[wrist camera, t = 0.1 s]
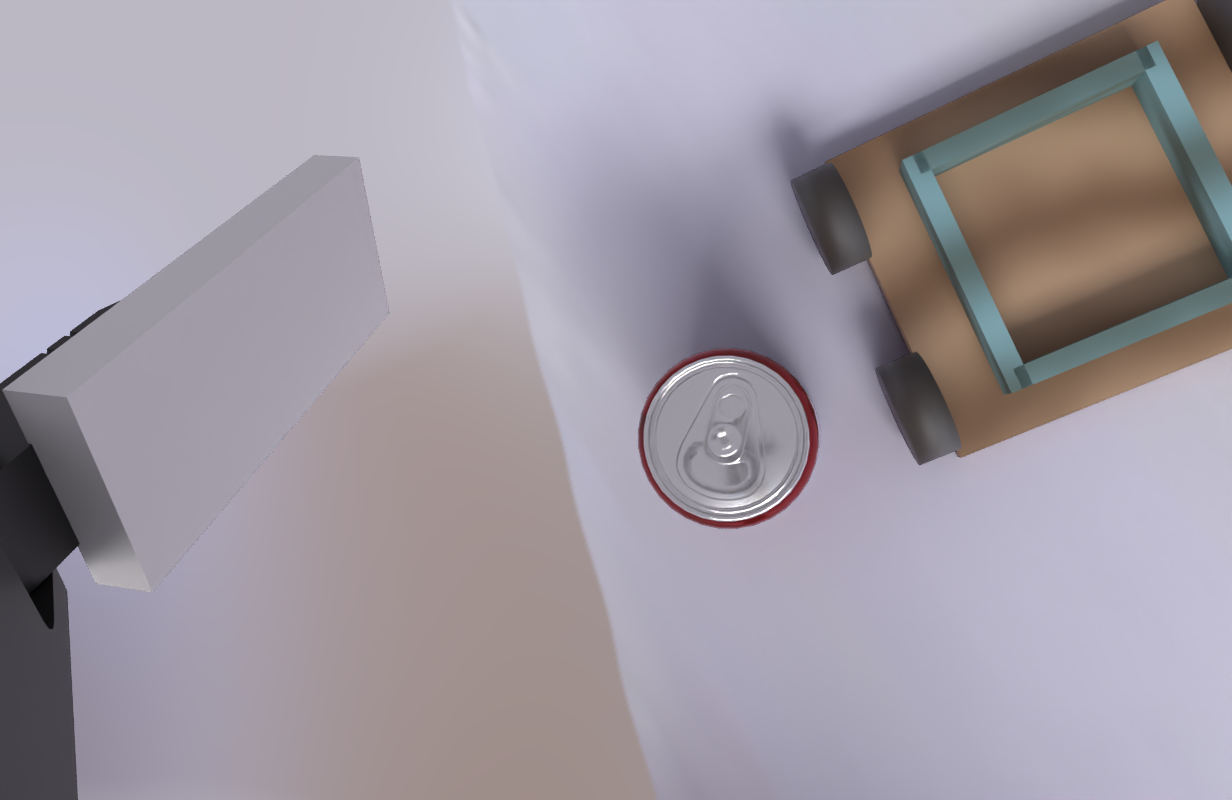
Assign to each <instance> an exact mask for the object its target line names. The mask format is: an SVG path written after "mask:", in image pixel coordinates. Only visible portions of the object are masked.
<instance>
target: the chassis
mask: <svg viewBox="0 0 1232 800" xmlns="http://www.w3.org/2000/svg"><path fill="white" fill-rule="evenodd" d="M791 185H792V188H793V191H794V194H795V197H796V200H797V202H798V205H799V207H800V210H801V212H802V215H803V217H804V220H805V222H806V224H807V227H808V229H809V231H810V233H811V236H812V238H813V240H814V242H815V244H816V247H817V249H818V251H819V253H820V255H821V257H822V259H823V261H824V263H825V265H826V266H827V268H828V270H829V272H830V273H831V274H832V275H834V274H836V273H838V272H840V271H843V270H845V269H847V268H849V267H851V266H854V265H856V264H858V263H860V262H863V261H865V260H867V261H868V263H869V265H870V267H871V269H872V271H873V274H874V276H875V278H876V280H877V282H878V284H879V287H880V289H881V291H882V293H883V295H884V298H885V300H886V302H887V304H888V306H889V308H890V311H891V313H892V315H893V317H894V319H895V321H896V324H897V326H898V328H899V330H900V332H901V335H902V337H903V339H904V341H905V343H906V345H907V348H908V350H909V352H910V354H909V355H906V356H904V357H902V358H899V359H897V360H895V361H892V362H890V363H888V364H885V365H883V366H881V367H878V368H876V369H875V370H876V374H877V377H878V380H879V383H880V386H881V388H882V391H883V393H884V396H885V398H886V400H887V403H888V405H889V407H890V410H891V412H892V414H893V416H894V419H895V421H896V423H897V425H898V427H899V429H900V431H901V433H902V436H903V438H904V440H905V442H906V444H907V446H908V447H909V449H910V451H911V453H912V455H913V457H914V458H915V460H916V462H917V463H918V464H919V465H921V464H924V463H926V462H929V461H931V460H934V459H936V458H939V457H941V456H944V455H946V454H949V453H951V452H954V451H955V452H956V454H957V456H958V457H964V456H966V455H969V454H971V453H974V452H976V451H979V450H981V449H984V448H986V447H989V446H991V445H994V444H996V443H999V442H1001V441H1004V440H1006V439H1008V438H1011V437H1013V436H1016V435H1018V434H1021V433H1023V432H1026V431H1028V430H1031V429H1033V428H1036V427H1038V426H1041V425H1043V424H1046V423H1048V422H1051V421H1053V420H1056V419H1058V418H1061V417H1063V416H1066V415H1068V414H1071V413H1073V412H1076V411H1078V410H1081V409H1083V408H1085V407H1088V406H1090V405H1093V404H1095V403H1098V402H1100V401H1103V400H1105V399H1108V398H1110V397H1113V396H1115V395H1118V394H1120V393H1123V392H1125V391H1128V390H1130V389H1133V388H1135V387H1138V386H1140V385H1143V384H1145V383H1148V382H1150V381H1153V380H1155V379H1158V378H1160V377H1162V376H1165V375H1167V374H1170V373H1172V372H1175V371H1177V370H1180V369H1182V368H1185V367H1187V366H1190V365H1192V364H1195V363H1197V362H1200V361H1202V360H1205V359H1207V358H1210V357H1212V356H1215V355H1217V354H1220V353H1222V352H1225V351H1227V350H1230V349H1232V0H1198V3H1197V4H1196V2H1195V1H1194V0H1165V1H1163V2H1161V3H1159V4H1157V5H1154V6H1152V7H1150V8H1148V9H1146V10H1144V11H1142V12H1140V13H1138V14H1136V15H1133V16H1131V17H1129V18H1127V19H1125V20H1123V21H1121V22H1119V23H1117V24H1114V25H1112V26H1110V27H1108V28H1106V29H1104V30H1102V31H1100V32H1098V33H1096V34H1093V35H1091V36H1089V37H1087V38H1085V39H1083V40H1081V41H1079V42H1077V43H1075V44H1072V45H1070V46H1068V47H1066V48H1064V49H1062V50H1060V51H1058V52H1056V53H1053V54H1051V55H1049V56H1047V57H1045V58H1043V59H1041V60H1039V61H1037V62H1035V63H1032V64H1030V65H1028V66H1026V67H1024V68H1022V69H1020V70H1018V71H1016V72H1013V73H1011V74H1009V75H1007V76H1005V77H1003V78H1001V79H999V80H997V81H995V82H992V83H990V84H988V85H986V86H984V87H982V88H980V89H978V90H976V91H974V92H971V93H969V94H967V95H965V96H963V97H961V98H959V99H957V100H955V101H952V102H950V103H948V104H946V105H944V106H942V107H940V108H938V109H936V110H934V111H931V112H929V113H927V114H925V115H923V116H921V117H919V118H917V119H915V120H913V121H910V122H908V123H906V124H904V125H902V126H900V127H898V128H896V129H894V130H891V131H889V132H887V133H885V134H883V135H881V136H879V137H877V138H875V139H873V140H870V141H868V142H866V143H864V144H862V145H860V146H858V147H856V148H854V149H852V150H849V151H847V152H845V153H843V154H841V155H839V156H837V157H835V158H833V159H830V160H828V161H826V162H825V165H823V166H821V167H819V168H817V169H814V170H812V171H810V172H808V173H806V174H804V175H802V176H800V177H798V178H795V179H793V180H791Z"/></svg>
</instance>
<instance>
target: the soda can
mask: <svg viewBox="0 0 1232 800" xmlns="http://www.w3.org/2000/svg"><path fill="white" fill-rule="evenodd" d="M819 447H820V424H819V420H818V416H817V412H816V410H815V408H814V406H813V403H812V401H811V399H810V398H809V396H808V395H807V393H806V392H805V390H804V389H803V388H802V386H801V385H800V383H799V382H798V381H797V379H796V378H795V377H794V376H793V375H792V374H790V373H789V372H788V371H787V370H786V369H785V368H784V367H783V366H781V365H780V364H778V363H776V362H775V361H773V360H772V359H770V358H768V357H766V356H763V355H761V354H758V353H755V352H753V351H748V350H742V349H736V348H723V349H713V350H708V351H704V352H700V353H697V354H695V355H693V356H691V357H688V358H686V359H684V360H682V361H681V362H679V363H678V364H676V365H675V366H674V367H672V368H671V369H669V370H668V371H667V372H666V373H665V374H664V376H663V377H662V378H661V379H660V380H659V381H658V382H657V383H656V385H655V386H654V388H653V389H652V391H651V392H650V394H649V396H648V397H647V400H646V402H645V405H644V407H643V410H642V413H641V417H640V423H639V428H638V449H639V453H640V458H641V463H642V466H643V469H644V471H645V473H646V476H647V478H648V481H649V482H650V484H651V485H652V487H653V488H654V490H655V491H656V493H657V494H658V496H659V497H660V498H661V499H662V500H663V501H664V502H665V503H666V504H667V505H668V506H669V507H670V508H671V509H673V510H674V511H676V512H677V513H679V514H680V515H682V516H683V517H685V518H687V519H689V520H691V521H694V522H696V523H699V524H701V525H705V526H710V527H714V528H721V529H738V528H743V527H748V526H754V525H757V524H759V523H761V522H764V521H766V520H769V519H771V518H773V517H774V516H776V515H777V514H779V513H780V512H782V511H783V510H785V509H786V508H787V507H788V506H789V505H790V504H791V503H792V502H793V501H794V500H795V499H796V498H797V497H798V496H799V495H800V493H801V492H802V490H803V489H804V487H805V486H806V484H807V483H808V481H809V479H810V476H811V474H812V471H813V469H814V467H815V464H816V460H817V457H818V452H819Z"/></svg>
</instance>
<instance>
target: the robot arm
mask: <svg viewBox="0 0 1232 800" xmlns="http://www.w3.org/2000/svg"><path fill="white" fill-rule="evenodd" d="M388 314H389V308H388V303H387V298H386V293H385V288H384V283H383V277H382V272H381V267H380V262H379V257H378V252H377V247H376V242H375V236H374V231H373V226H372V222H371V216H370V212H369V206H368V201H367V196H366V191H365V186H364V180H363V175H362V170H361V165H360V160H359V158H355V157H337V156H318V155H315V156H313V157H311V158H310V159H309V160H307V161H306V162H305V163H303V164H302V165H301V166H299V167H298V168H297V169H295V170H294V171H293V172H291V173H290V174H289V175H287V176H286V177H285V178H283V179H282V180H281V181H279V182H278V183H277V184H275V185H274V186H273V187H271V188H270V189H269V190H267V191H266V192H265V193H263V194H262V195H261V196H260V197H258V198H257V199H255V200H254V201H253V202H251V203H250V204H249V205H247V206H246V207H245V208H243V209H242V210H241V211H239V212H238V213H237V214H235V215H234V216H233V217H231V218H230V219H229V220H228V221H226V222H225V223H223V224H222V225H221V226H219V227H218V228H217V229H215V230H214V231H213V232H211V233H210V234H209V235H208V236H206V237H205V238H203V239H202V240H201V241H200V242H198V243H197V244H196V245H194V246H193V247H192V248H190V249H189V250H188V251H186V252H185V253H184V254H182V255H181V256H180V257H178V258H177V259H176V260H174V261H173V262H172V263H170V264H169V265H168V266H166V267H165V268H164V269H162V270H161V271H160V272H158V273H157V274H156V275H154V276H153V277H152V278H150V279H149V280H148V281H146V282H145V283H144V284H142V285H141V286H140V287H138V288H137V289H136V290H134V291H133V292H132V293H131V294H129V295H128V296H126V297H125V298H124V299H122V300H121V301H118V302H116V303H114V304H112V305H110V306H107V307H105V308H103V309H101V310H99V311H97V312H96V313H95V314H93V315H92V316H91V317H89V318H88V319H86V320H85V321H84V322H82V323H81V324H80V325H78V326H77V327H76V328H75V329H73V330H72V331H70V336H64V337H62V338H61V339H60V340H58V341H57V342H56V343H54V344H53V345H51V346H50V347H49V348H48V349H47V354H44V353H41V354H39V355H38V356H37V357H35V358H34V359H33V360H31V361H30V362H29V363H27V364H26V365H25V366H23V367H22V368H21V369H19V370H18V371H16V372H15V373H14V374H12V375H11V376H10V377H8V378H7V379H6V380H4V381H3V382H2V383H0V800H78V794H77V775H76V755H75V735H74V717H73V696H72V678H71V657H70V638H69V618H68V598H67V590H66V588H65V585H64V583H63V581H62V579H61V577H60V575H59V573H58V571H57V569H56V567H57V566H58V565H59V564H60V563H61V562H62V561H63V560H64V559H65V558H66V557H67V556H68V555H69V554H70V553H71V552H72V551H73V550H74V549H75V548H76V547H77V546H78V547H79V549H80V552H81V553H82V556H83V558H84V560H85V562H86V564H87V566H88V568H89V570H90V572H91V574H92V576H93V578H94V581H95V582H96V584H102V585H108V586H115V587H121V588H127V589H133V590H139V591H145V592H154V591H155V589H156V588H157V587H158V586H159V585H160V584H161V582H162V581H163V580H164V579H165V578H166V576H167V575H168V574H169V573H170V572H171V571H172V569H173V568H174V567H175V566H176V564H177V563H178V562H179V561H180V560H181V559H182V557H183V556H184V555H185V554H186V553H187V552H188V550H189V549H190V548H191V547H192V546H193V545H194V543H195V542H196V541H197V540H198V539H199V537H200V536H201V535H202V534H203V533H204V532H205V530H206V529H207V528H208V527H209V526H210V525H211V523H212V522H213V521H214V520H215V518H216V517H217V516H218V515H219V514H220V513H221V511H222V510H223V509H224V508H225V507H226V505H227V504H228V503H229V502H230V501H231V500H232V498H233V497H234V496H235V495H236V494H237V493H238V491H239V490H240V489H241V488H242V487H243V485H244V484H245V483H246V482H247V481H248V480H249V478H250V477H251V476H252V475H253V474H254V473H255V471H256V470H257V469H258V468H259V467H260V465H261V464H262V463H263V462H264V461H265V460H266V458H267V457H268V456H269V455H270V454H271V452H272V451H273V450H274V449H275V447H277V445H278V444H279V443H280V442H281V441H282V439H283V438H284V437H285V436H286V435H287V434H288V432H289V431H290V430H291V429H292V428H293V426H294V425H295V424H296V423H297V422H298V420H299V419H300V418H301V417H302V415H303V414H304V413H305V412H306V411H307V410H308V409H309V408H310V406H311V405H312V404H313V403H314V402H315V400H316V399H317V398H318V397H319V396H320V394H321V393H322V392H323V391H324V390H325V389H326V387H327V386H328V385H329V384H330V383H331V382H332V380H333V379H334V378H335V377H336V376H337V374H338V373H339V372H340V371H341V370H342V369H343V367H344V366H345V365H346V364H347V363H348V362H349V360H350V359H351V358H352V357H353V355H354V354H355V353H356V352H357V351H358V350H359V349H360V347H361V346H362V345H363V344H364V342H365V341H366V340H367V339H368V338H369V336H370V335H371V334H372V333H373V332H374V331H375V330H376V328H377V327H378V326H379V325H380V324H381V323H382V321H383V320H384V319H385V318H386V317H387V315H388Z"/></svg>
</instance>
